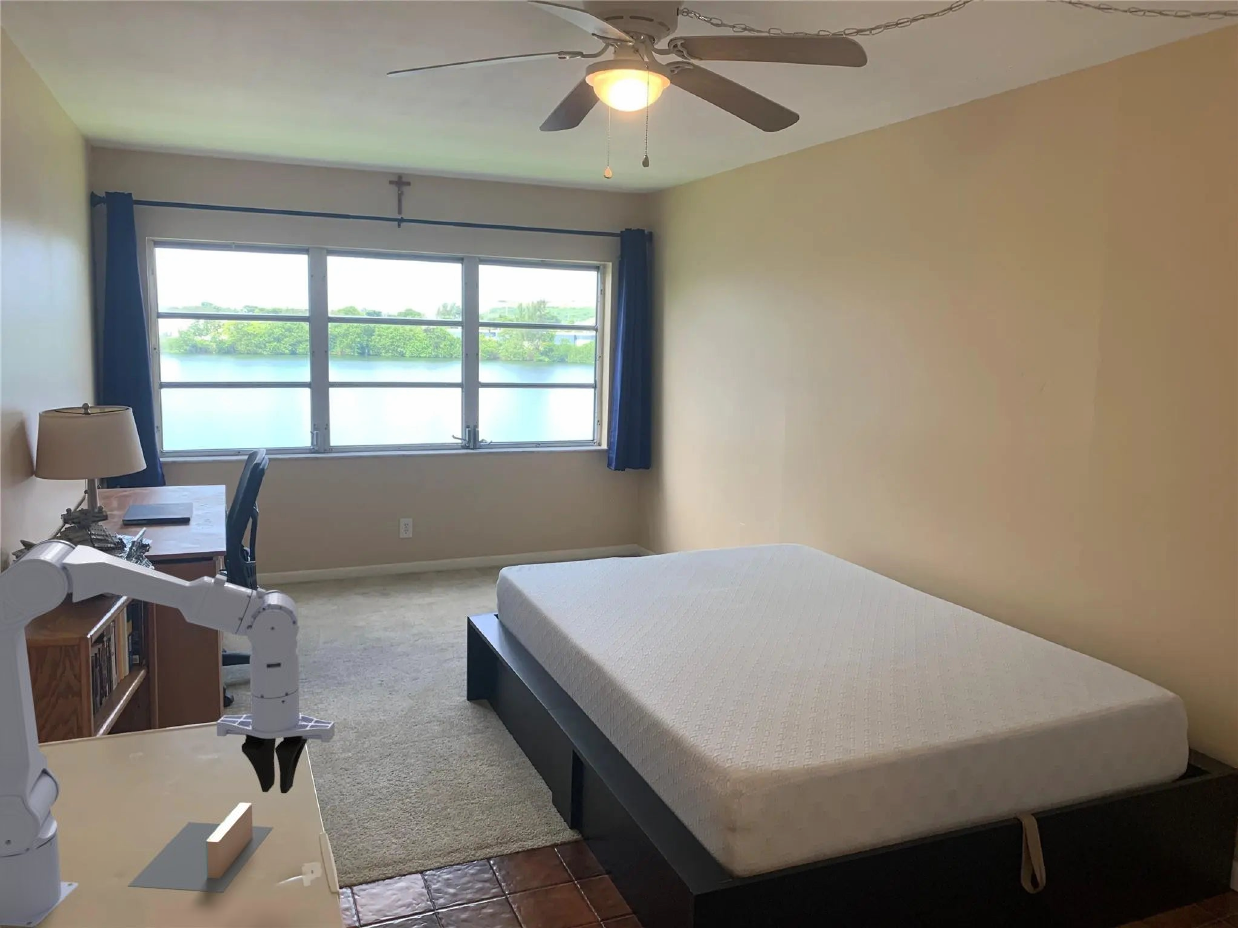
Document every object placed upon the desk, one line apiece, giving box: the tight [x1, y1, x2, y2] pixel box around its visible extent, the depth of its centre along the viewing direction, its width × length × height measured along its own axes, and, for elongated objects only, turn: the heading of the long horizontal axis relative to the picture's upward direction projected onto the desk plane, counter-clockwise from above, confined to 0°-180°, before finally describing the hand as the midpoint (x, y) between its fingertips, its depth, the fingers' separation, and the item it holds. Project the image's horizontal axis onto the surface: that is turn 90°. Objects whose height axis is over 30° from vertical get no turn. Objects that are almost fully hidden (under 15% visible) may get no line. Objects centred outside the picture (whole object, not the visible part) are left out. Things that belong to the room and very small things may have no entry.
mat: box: [127, 821, 274, 893], centre depth 113 cm, size 12×14×1 cm
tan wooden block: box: [206, 801, 253, 878], centre depth 113 cm, size 2×9×5 cm, turn 178°
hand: (277, 788), depth 111 cm, fingers closed
